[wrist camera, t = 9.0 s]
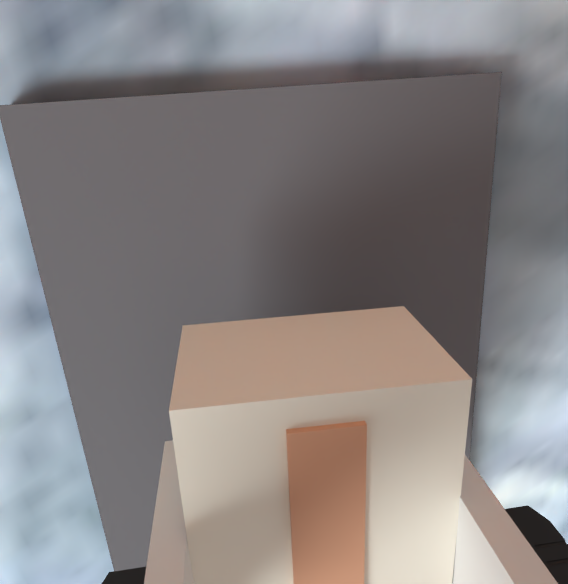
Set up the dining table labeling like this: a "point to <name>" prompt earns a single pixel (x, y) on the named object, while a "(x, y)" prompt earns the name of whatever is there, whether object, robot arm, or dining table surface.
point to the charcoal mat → (243, 237)
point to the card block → (319, 449)
